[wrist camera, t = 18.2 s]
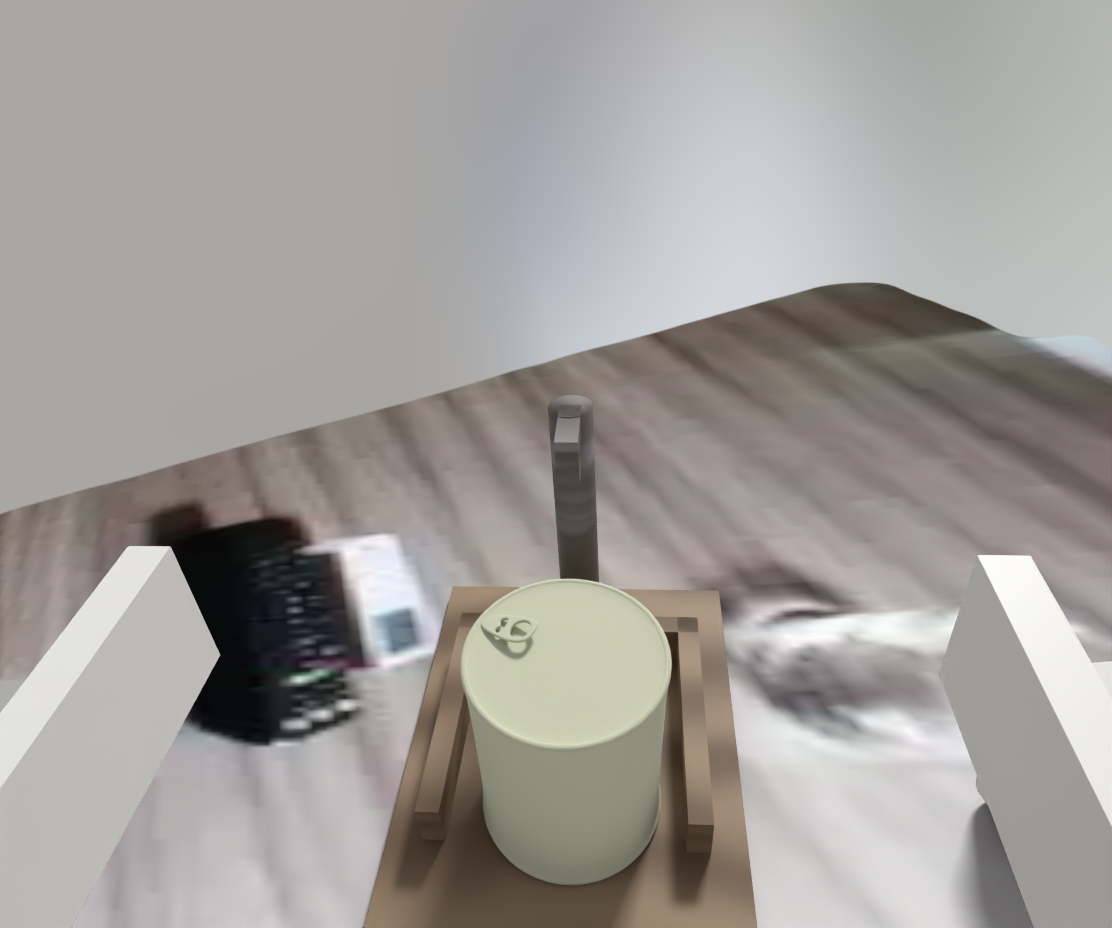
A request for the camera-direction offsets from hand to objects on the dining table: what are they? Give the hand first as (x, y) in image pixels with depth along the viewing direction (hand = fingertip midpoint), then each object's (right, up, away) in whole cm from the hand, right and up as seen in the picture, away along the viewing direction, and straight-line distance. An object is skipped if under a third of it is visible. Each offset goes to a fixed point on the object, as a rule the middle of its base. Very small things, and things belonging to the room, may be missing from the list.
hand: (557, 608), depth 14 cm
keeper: (+1, -14, +32) cm, 34 cm away
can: (+1, -15, +28) cm, 32 cm away
